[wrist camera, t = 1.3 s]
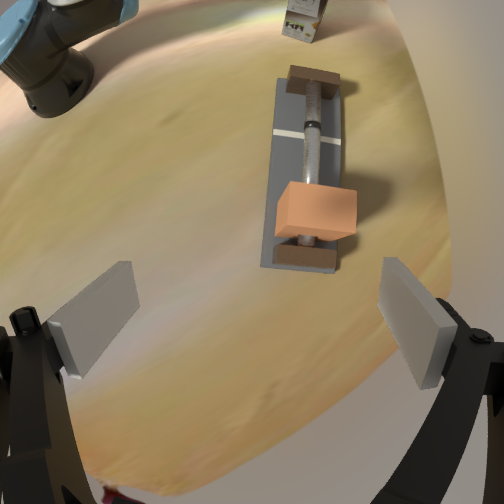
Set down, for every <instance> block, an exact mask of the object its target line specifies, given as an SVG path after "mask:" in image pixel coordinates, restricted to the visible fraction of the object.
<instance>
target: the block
mask: <svg viewBox="0 0 504 504" xmlns="http://www.w3.org/2000/svg"><path fill="white" fill-rule="evenodd" d="M356 217H357V191H355V190H349V189H343V188H336V187H330V186H323V185H316V184H309V183H302V182H294V181H290V182H289V184H288V186H287V187H286V189H285V191H284V193H283V194H282V196H281V198H280V199H279V201H278V204H277V216H276V228H275V236H276V237H285V238H294V239H298V235H307V236H316V237H315V241H322V242H331V241H334V240H337V239H340V238H343V237H346V236H349V235H352V234H355V233H356Z"/></svg>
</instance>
